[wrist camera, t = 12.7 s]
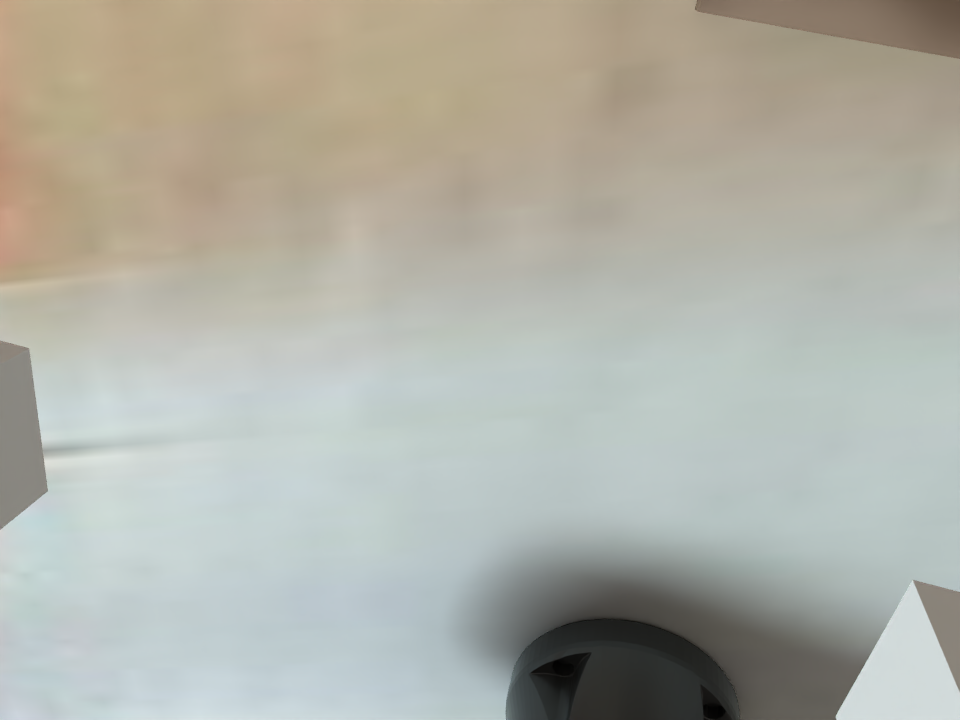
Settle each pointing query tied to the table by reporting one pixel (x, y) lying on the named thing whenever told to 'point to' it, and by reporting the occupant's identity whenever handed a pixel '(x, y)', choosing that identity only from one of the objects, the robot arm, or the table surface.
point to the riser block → (857, 20)
